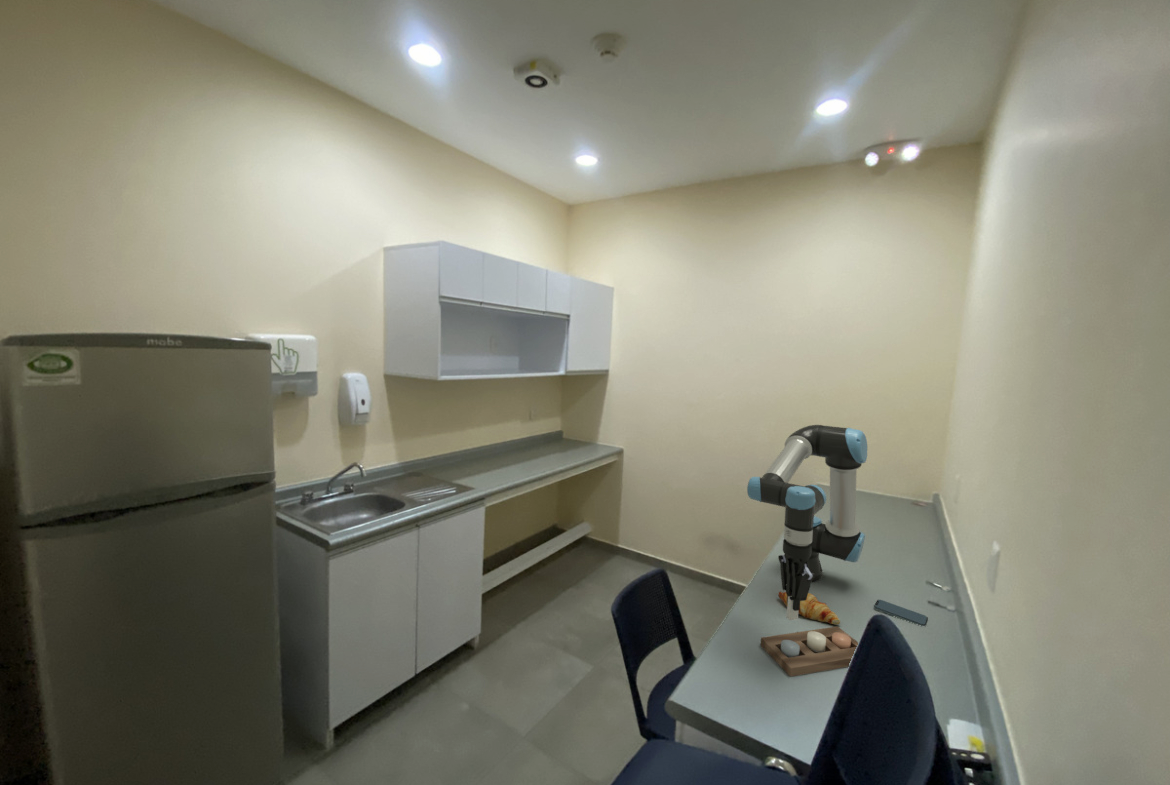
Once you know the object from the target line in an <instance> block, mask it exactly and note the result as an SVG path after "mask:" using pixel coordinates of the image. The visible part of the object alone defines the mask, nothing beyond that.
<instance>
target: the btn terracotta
mask: <svg viewBox="0 0 1170 785" xmlns="http://www.w3.org/2000/svg"><path fill="white" fill-rule="evenodd" d="M849 636H850V635H849ZM849 636H847V635H846V634H843V633H839V632H835V633H833V634H832V643H833V644H835V645H836V646H837V647H838V648H839V649H846V648H850V646H851V638H850V637H849Z"/></svg>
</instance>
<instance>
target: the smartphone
mask: <svg viewBox="0 0 1170 785" xmlns="http://www.w3.org/2000/svg"><path fill="white" fill-rule="evenodd" d="M873 610H874V611H876V612H879V613H881V614H885V615H887V616H890V617H893V616H895V617H894V618H896V617H897V618H896V619H898V618H900V619H899V620H901V619H902V621H904V620H906V621H905V622H907V621H909V622H908V623H910V622H912V623H911V624H913V623H914V625H916V624H918V625H917V626H919V625H921V626H920V627H922V626H925V625H926V626H927V624H928V621H929V620H928V619H929V618H928V617H927V616H926V615H925V614H922V613H919V612H917V611H914V610H911V609H908V608H905V607H902V606H900V605H896V604H894V603H891V602H889V601H885V600H883V599H877V600H876V601H875V604H874V605H873ZM926 626H925V627H926Z"/></svg>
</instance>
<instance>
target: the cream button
mask: <svg viewBox="0 0 1170 785" xmlns="http://www.w3.org/2000/svg"><path fill="white" fill-rule="evenodd" d="M825 646H826V637H825V636H824V635H823V634H821V633H819V632H815V631H810V632H808V634H807V647H808V648H809V649H810V650H811V651H812V652H813V653H821V652H825Z"/></svg>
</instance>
